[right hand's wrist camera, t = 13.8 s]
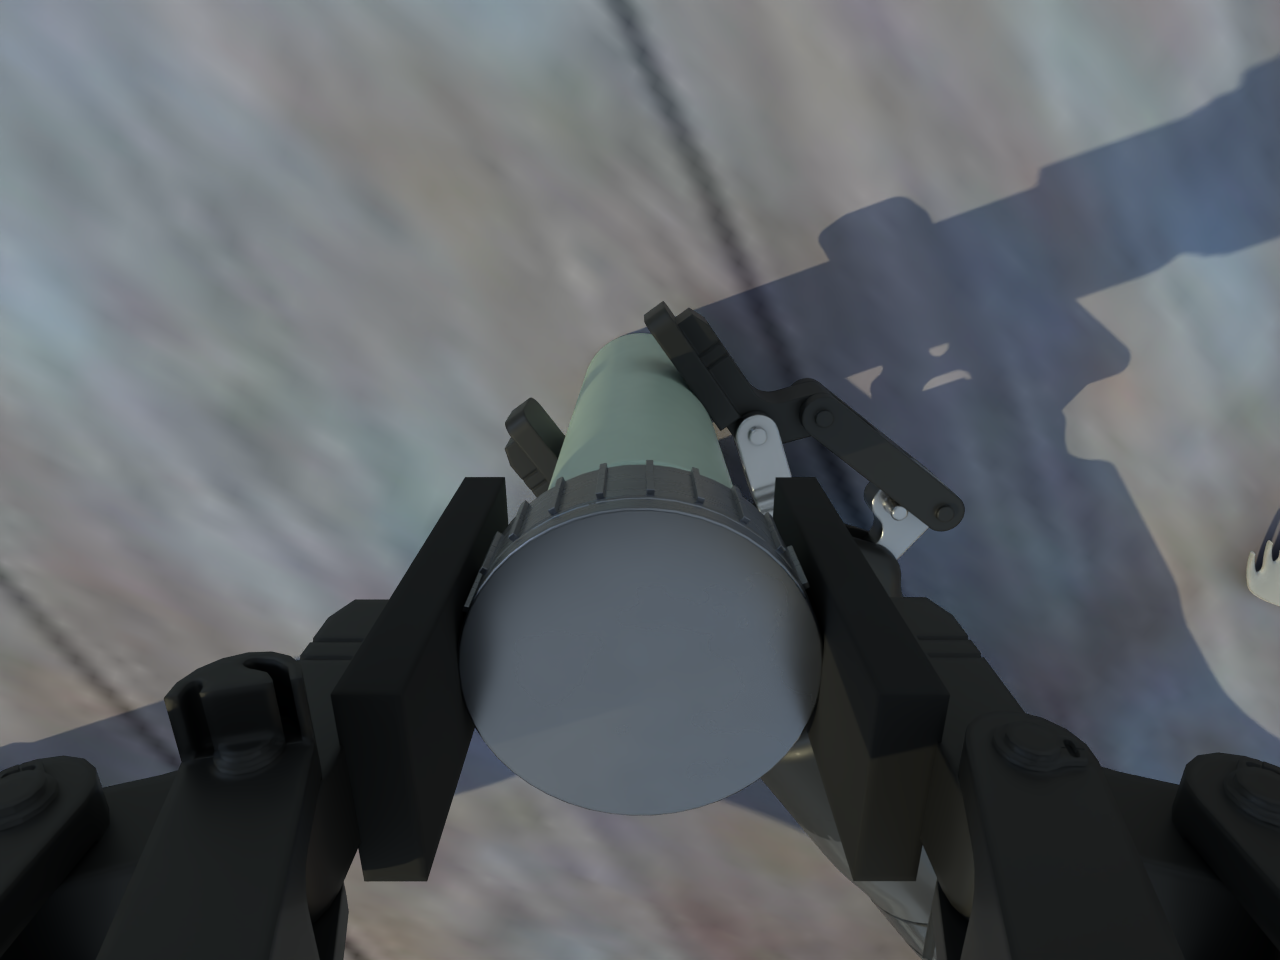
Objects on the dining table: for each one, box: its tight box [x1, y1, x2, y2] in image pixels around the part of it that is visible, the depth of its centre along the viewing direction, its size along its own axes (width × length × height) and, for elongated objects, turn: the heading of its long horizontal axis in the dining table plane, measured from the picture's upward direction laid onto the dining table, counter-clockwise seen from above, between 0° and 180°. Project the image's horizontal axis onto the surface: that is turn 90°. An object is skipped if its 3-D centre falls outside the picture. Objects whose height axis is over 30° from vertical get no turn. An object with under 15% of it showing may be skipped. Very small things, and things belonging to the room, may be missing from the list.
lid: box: [458, 460, 823, 815], centre depth 11 cm, size 5×5×2 cm
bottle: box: [548, 333, 733, 490], centre depth 20 cm, size 4×4×16 cm
